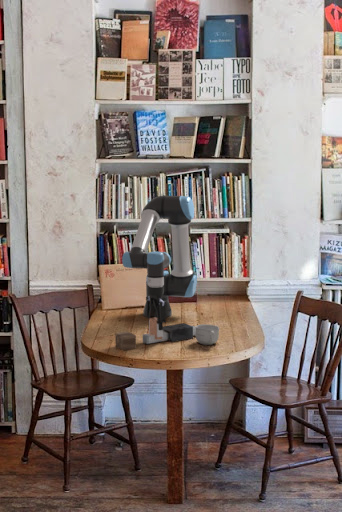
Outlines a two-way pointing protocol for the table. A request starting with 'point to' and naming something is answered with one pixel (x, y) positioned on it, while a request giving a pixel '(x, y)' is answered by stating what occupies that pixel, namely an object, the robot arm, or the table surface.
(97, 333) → the table surface
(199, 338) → the teacup
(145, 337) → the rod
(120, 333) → the socket
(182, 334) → the sleeve
